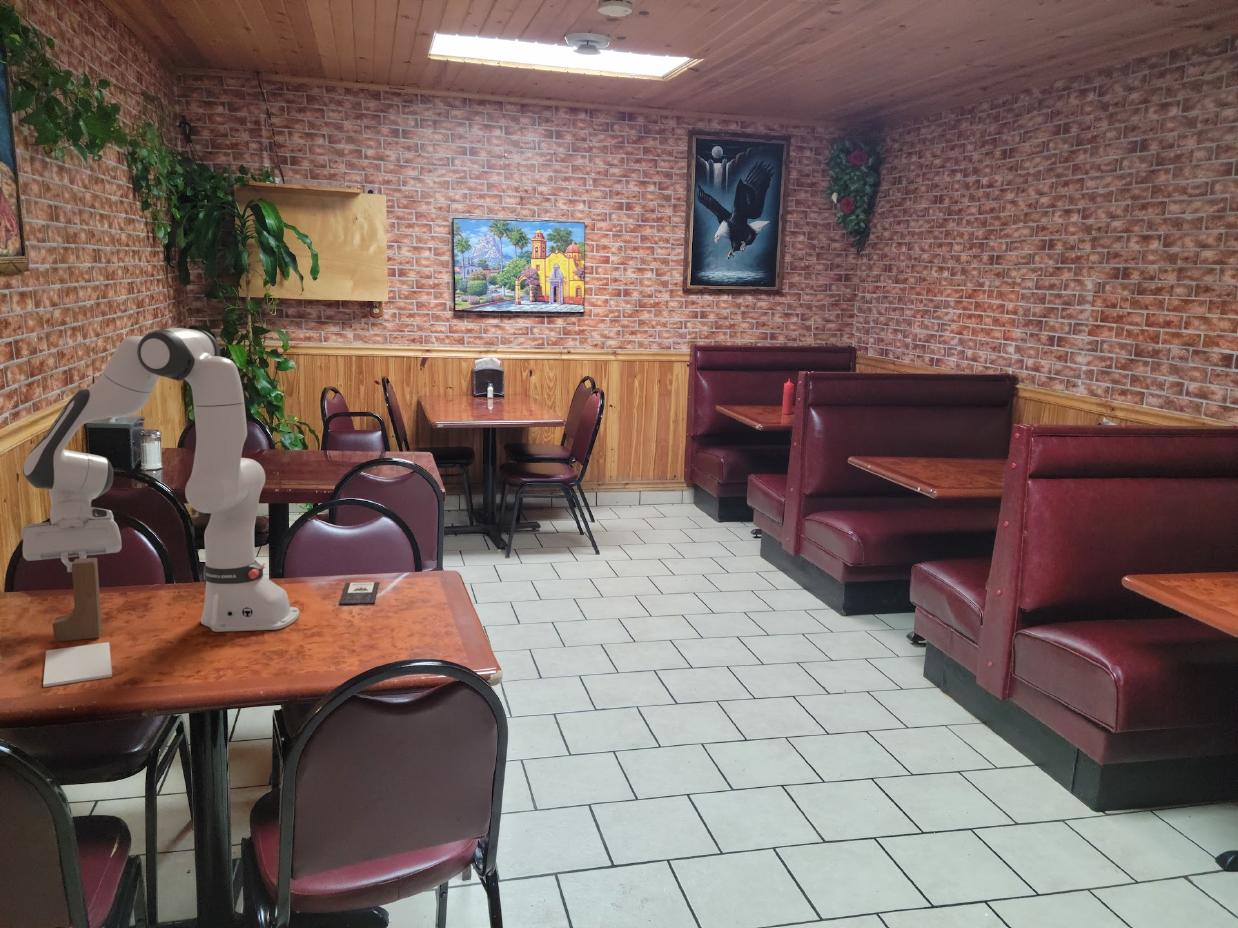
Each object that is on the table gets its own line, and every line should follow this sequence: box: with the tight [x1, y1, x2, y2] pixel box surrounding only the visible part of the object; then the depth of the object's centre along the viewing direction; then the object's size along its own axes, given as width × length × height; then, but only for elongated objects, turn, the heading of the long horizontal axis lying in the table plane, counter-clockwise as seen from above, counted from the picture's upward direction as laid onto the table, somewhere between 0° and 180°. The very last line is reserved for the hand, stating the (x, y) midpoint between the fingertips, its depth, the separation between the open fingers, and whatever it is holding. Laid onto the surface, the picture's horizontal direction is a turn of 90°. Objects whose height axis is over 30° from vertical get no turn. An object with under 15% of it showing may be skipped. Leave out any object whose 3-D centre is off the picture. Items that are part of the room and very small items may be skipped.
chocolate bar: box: [338, 581, 380, 606], centre depth 246 cm, size 9×1×18 cm
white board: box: [42, 641, 113, 688], centre depth 193 cm, size 20×12×1 cm, turn 30°
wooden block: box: [52, 557, 103, 643], centre depth 207 cm, size 9×4×18 cm, turn 111°
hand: (74, 570), depth 214 cm, fingers closed
